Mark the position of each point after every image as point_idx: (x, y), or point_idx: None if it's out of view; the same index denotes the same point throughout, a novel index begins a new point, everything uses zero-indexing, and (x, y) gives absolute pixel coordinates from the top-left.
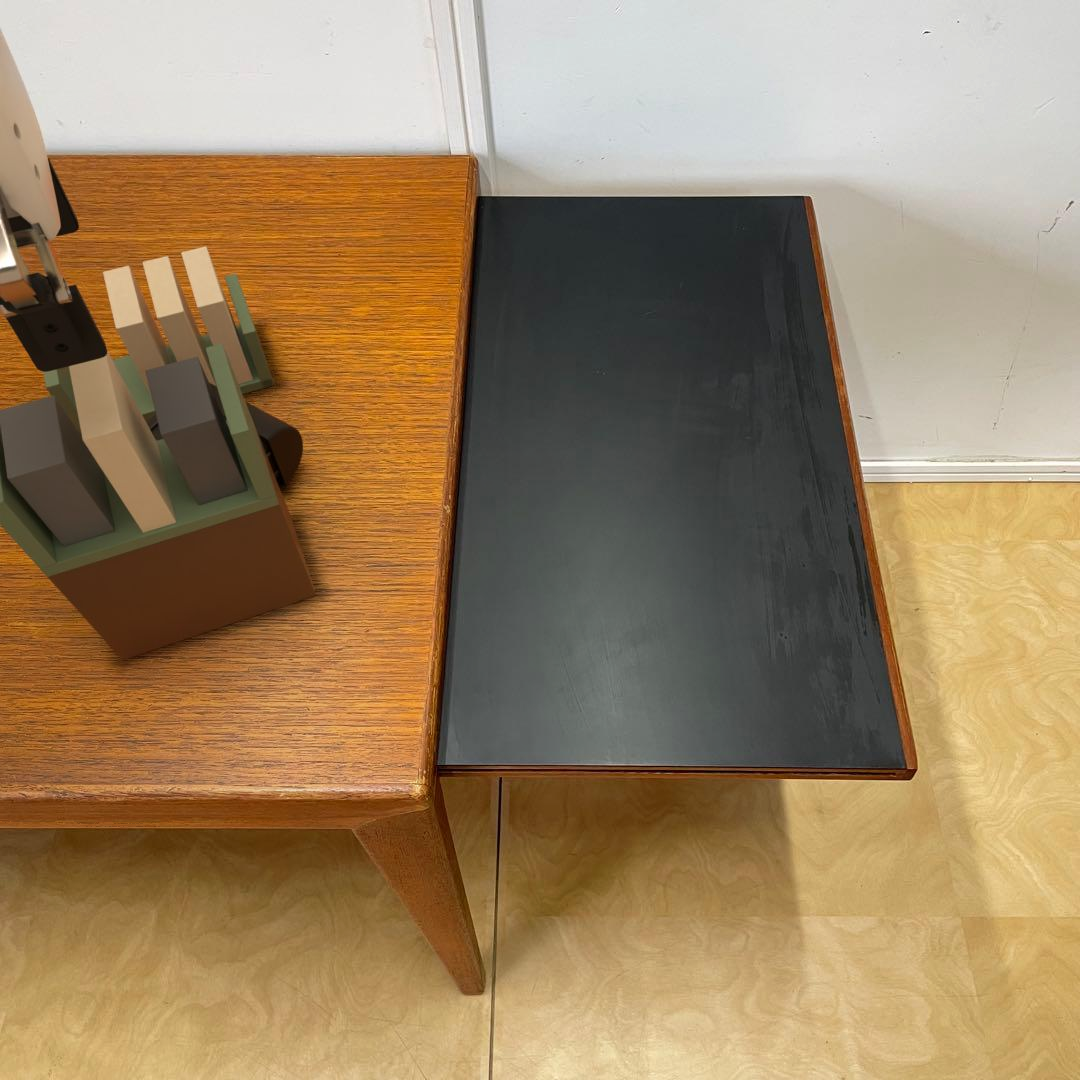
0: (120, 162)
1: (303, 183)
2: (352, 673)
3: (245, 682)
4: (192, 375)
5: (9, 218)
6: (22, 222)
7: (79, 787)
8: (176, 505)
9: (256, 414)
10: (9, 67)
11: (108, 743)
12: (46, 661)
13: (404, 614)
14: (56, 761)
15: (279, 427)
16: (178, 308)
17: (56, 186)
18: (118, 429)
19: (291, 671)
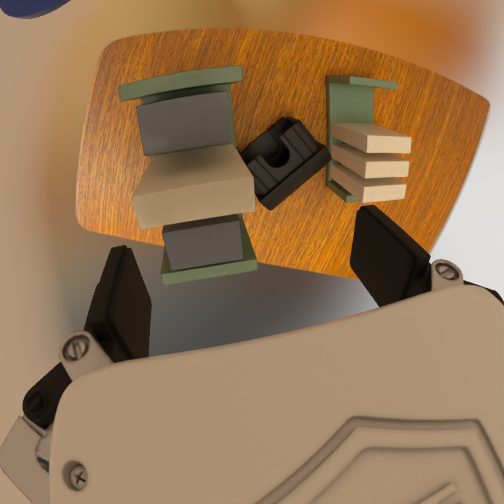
0: (474, 144)
1: (432, 220)
2: (129, 205)
3: (132, 152)
4: (222, 256)
5: (377, 229)
6: (370, 235)
7: (95, 74)
8: None
9: (283, 195)
10: None
11: (114, 85)
12: (172, 48)
13: (157, 231)
14: (111, 61)
15: (268, 207)
16: (368, 175)
17: (378, 305)
18: (139, 227)
19: (134, 176)
